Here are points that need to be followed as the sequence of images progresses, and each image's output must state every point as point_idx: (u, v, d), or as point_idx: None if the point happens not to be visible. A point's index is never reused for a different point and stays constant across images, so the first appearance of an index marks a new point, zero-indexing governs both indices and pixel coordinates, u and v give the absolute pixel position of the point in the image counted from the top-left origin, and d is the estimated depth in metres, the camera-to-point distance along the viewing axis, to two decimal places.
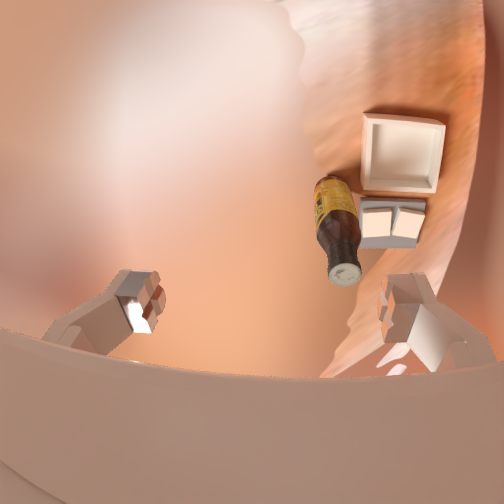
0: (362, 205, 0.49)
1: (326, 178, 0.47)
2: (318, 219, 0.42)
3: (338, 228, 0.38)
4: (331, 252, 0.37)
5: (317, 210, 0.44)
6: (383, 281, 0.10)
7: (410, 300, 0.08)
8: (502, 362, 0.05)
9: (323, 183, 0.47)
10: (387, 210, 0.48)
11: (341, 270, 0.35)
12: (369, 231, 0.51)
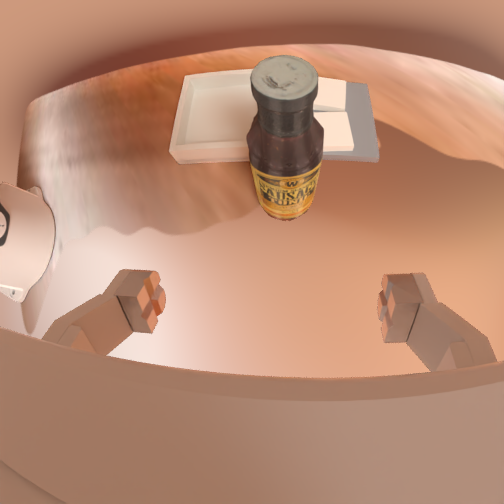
0: None
1: None
2: (269, 183, 0.25)
3: (251, 133, 0.22)
4: (269, 124, 0.19)
5: (270, 193, 0.27)
6: (383, 281, 0.10)
7: (410, 300, 0.08)
8: (502, 362, 0.05)
9: (259, 202, 0.33)
10: None
11: (269, 81, 0.16)
12: (342, 137, 0.33)
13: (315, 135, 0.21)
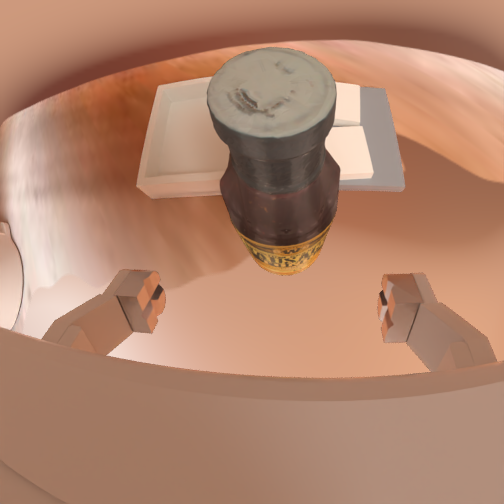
0: None
1: None
2: (258, 249, 0.17)
3: (226, 180, 0.14)
4: (249, 174, 0.11)
5: (261, 256, 0.19)
6: (383, 281, 0.10)
7: (410, 300, 0.08)
8: (502, 362, 0.05)
9: None
10: None
11: (240, 98, 0.08)
12: (358, 161, 0.25)
13: (328, 181, 0.13)
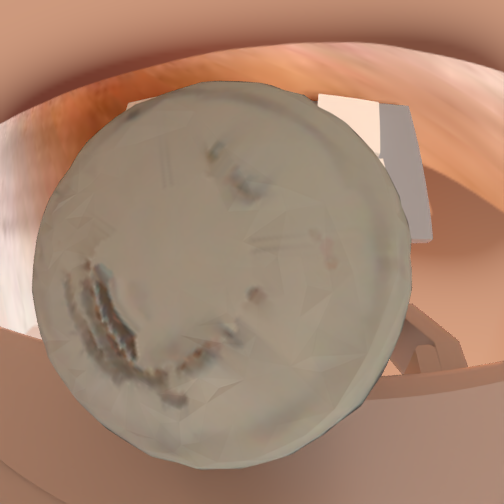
0: None
1: None
2: None
3: None
4: None
5: None
6: None
7: None
8: (502, 362, 0.05)
9: None
10: None
11: (93, 307, 0.03)
12: None
13: None
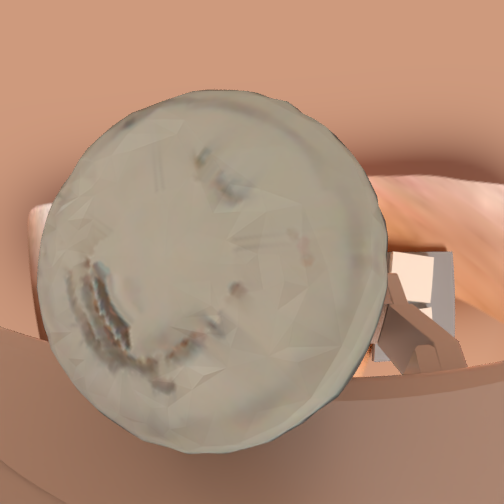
0: (382, 359, 0.30)
1: None
2: None
3: None
4: None
5: None
6: None
7: None
8: (502, 362, 0.05)
9: None
10: None
11: (92, 301, 0.03)
12: None
13: None
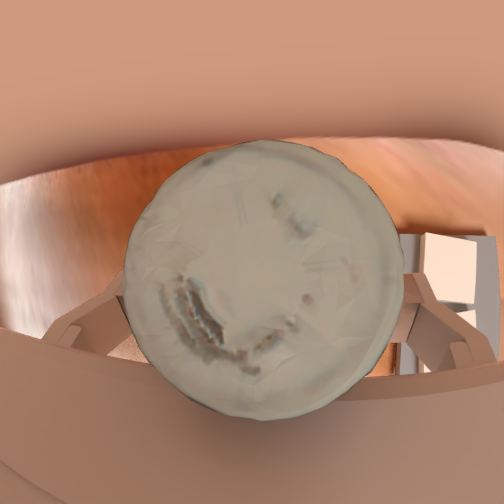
0: None
1: None
2: None
3: None
4: None
5: None
6: None
7: (410, 300, 0.08)
8: (502, 362, 0.05)
9: None
10: None
11: (187, 309, 0.04)
12: None
13: None
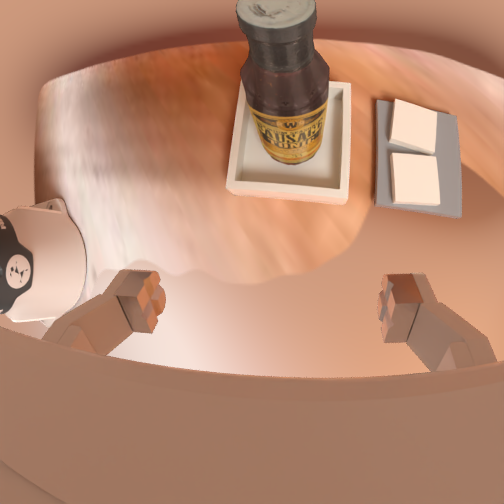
0: (385, 202, 0.29)
1: None
2: (266, 123, 0.21)
3: (245, 68, 0.17)
4: (260, 57, 0.14)
5: (268, 134, 0.23)
6: (383, 281, 0.10)
7: (410, 300, 0.08)
8: (502, 362, 0.05)
9: None
10: (392, 160, 0.28)
11: (256, 8, 0.11)
12: (429, 191, 0.27)
13: (318, 72, 0.17)
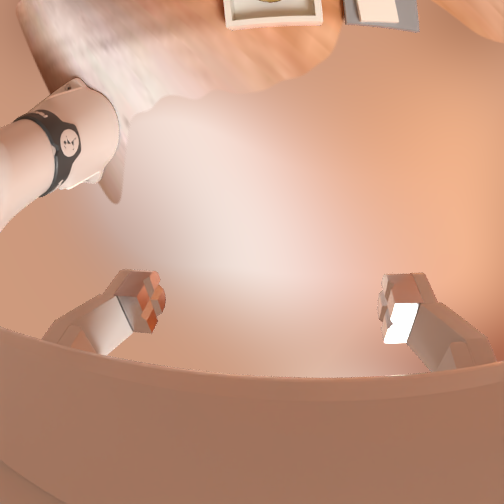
0: (353, 21, 0.29)
1: None
2: None
3: None
4: None
5: None
6: (383, 281, 0.10)
7: (410, 300, 0.08)
8: (502, 362, 0.05)
9: None
10: None
11: None
12: (388, 13, 0.26)
13: None
